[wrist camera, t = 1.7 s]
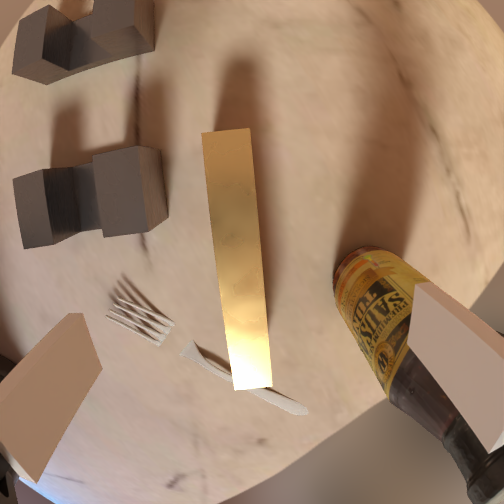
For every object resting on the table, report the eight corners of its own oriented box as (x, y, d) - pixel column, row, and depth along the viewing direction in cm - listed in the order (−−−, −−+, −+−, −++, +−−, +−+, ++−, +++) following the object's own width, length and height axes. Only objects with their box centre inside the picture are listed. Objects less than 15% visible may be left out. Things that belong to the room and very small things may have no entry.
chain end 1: (46, 85, 18) (11, 73, 13) (50, 37, 17) (19, 20, 12) (154, 50, 18) (133, 25, 13) (154, 1, 17) (136, -29, 12)
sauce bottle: (334, 240, 23) (538, 438, 3) (404, 246, 23) (604, 382, 4) (322, 318, 24) (426, 547, 5) (388, 318, 25) (523, 492, 5)
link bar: (235, 343, 25) (235, 389, 19) (212, 142, 21) (201, 133, 15) (265, 340, 25) (272, 386, 19) (247, 138, 21) (249, 127, 15)
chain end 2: (58, 233, 22) (24, 249, 17) (49, 174, 20) (12, 178, 15) (168, 217, 22) (148, 231, 17) (160, 149, 20) (137, 145, 16)
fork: (316, 428, 29) (319, 440, 27) (110, 311, 24) (102, 320, 22) (337, 411, 28) (341, 422, 26) (126, 284, 23) (118, 292, 22)
